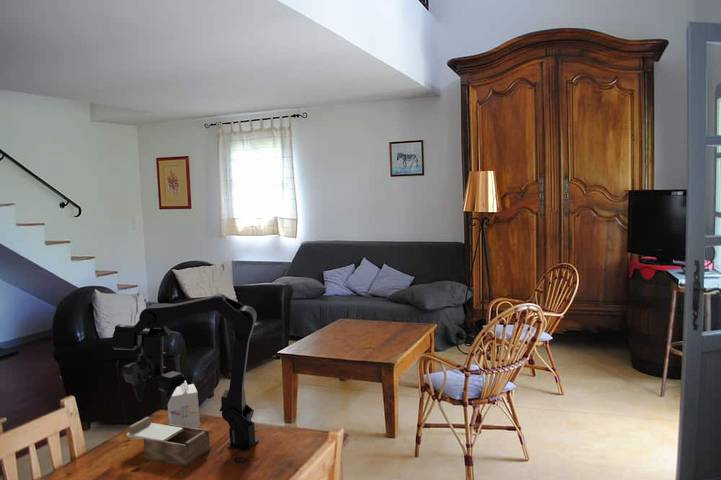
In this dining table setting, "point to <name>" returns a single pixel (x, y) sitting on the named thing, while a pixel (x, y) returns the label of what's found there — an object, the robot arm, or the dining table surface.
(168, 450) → the walnut box
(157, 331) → the robot arm
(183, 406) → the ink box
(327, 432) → the dining table surface
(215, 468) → the dining table surface
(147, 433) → the lid
